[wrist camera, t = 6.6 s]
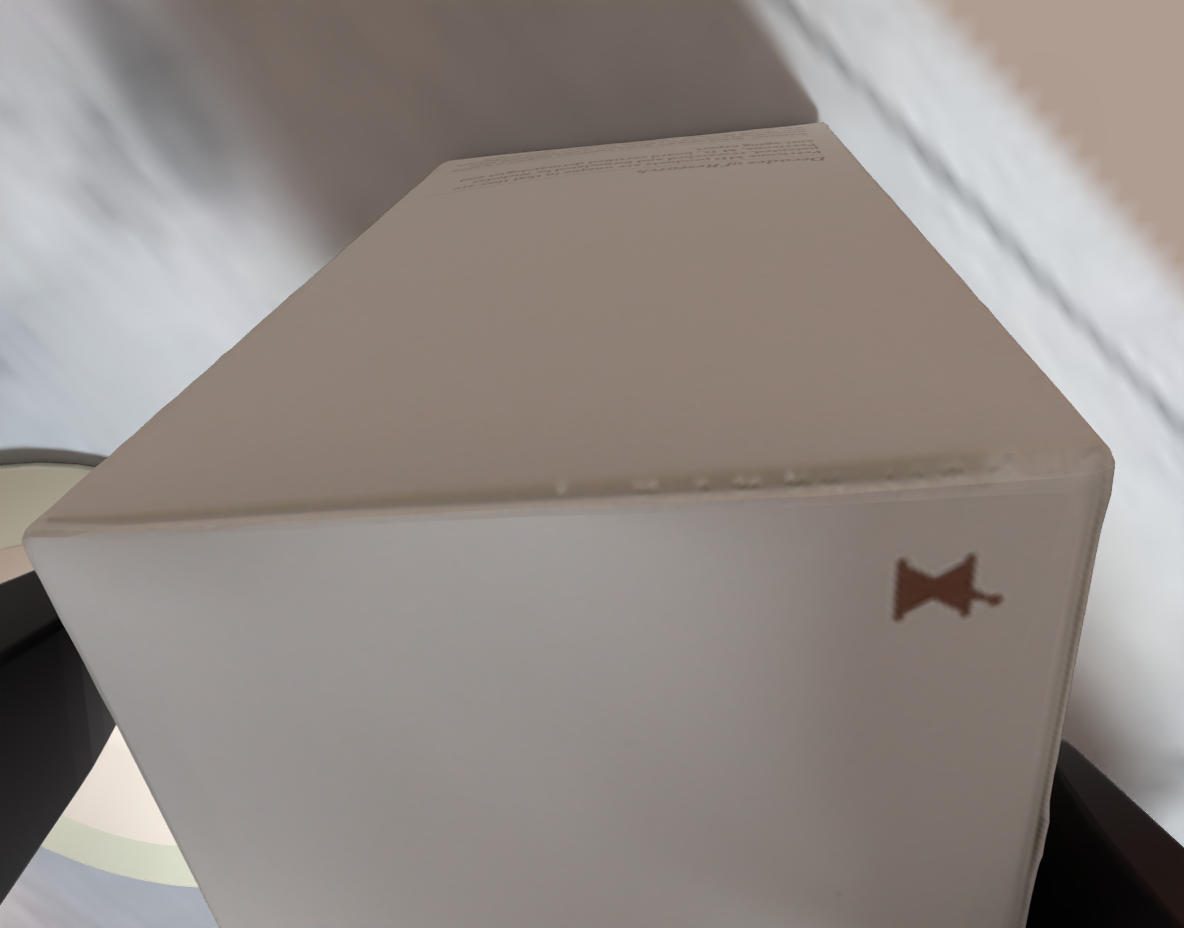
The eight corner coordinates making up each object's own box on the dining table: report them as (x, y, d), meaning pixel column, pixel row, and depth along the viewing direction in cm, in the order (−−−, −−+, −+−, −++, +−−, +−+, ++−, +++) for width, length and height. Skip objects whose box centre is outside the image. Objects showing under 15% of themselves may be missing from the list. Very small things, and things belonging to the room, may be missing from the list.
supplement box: (433, 152, 17) (-37, 500, 6) (835, 114, 16) (1186, 443, 5) (493, 488, 20) (273, 1103, 9) (825, 474, 19) (1017, 1136, 8)
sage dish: (431, 538, 21) (426, 549, 21) (379, 916, 28) (375, 929, 28) (-200, 401, 21) (-217, 409, 20) (-87, 820, 28) (-98, 832, 28)
